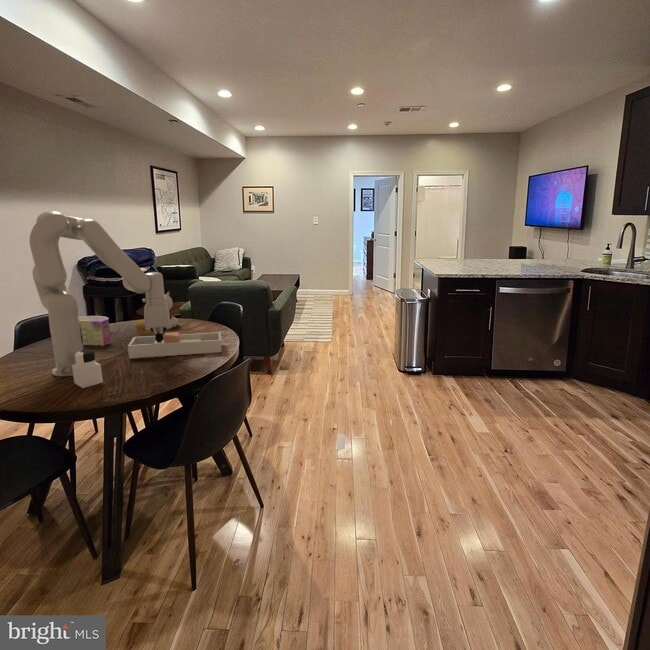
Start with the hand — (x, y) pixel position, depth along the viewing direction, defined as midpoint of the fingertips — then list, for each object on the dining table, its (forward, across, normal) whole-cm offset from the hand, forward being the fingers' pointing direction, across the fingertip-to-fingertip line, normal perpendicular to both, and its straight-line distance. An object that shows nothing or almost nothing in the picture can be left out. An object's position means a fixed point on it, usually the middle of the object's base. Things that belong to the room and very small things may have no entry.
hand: (159, 342), depth 186 cm
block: (+1, +5, 0) cm, 5 cm away
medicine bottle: (+5, -21, -32) cm, 39 cm away
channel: (+5, +7, 0) cm, 9 cm away
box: (+5, -31, +21) cm, 37 cm away
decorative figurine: (+5, -4, +48) cm, 48 cm away
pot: (+5, -9, +28) cm, 30 cm away
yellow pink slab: (+5, -40, +40) cm, 57 cm away
